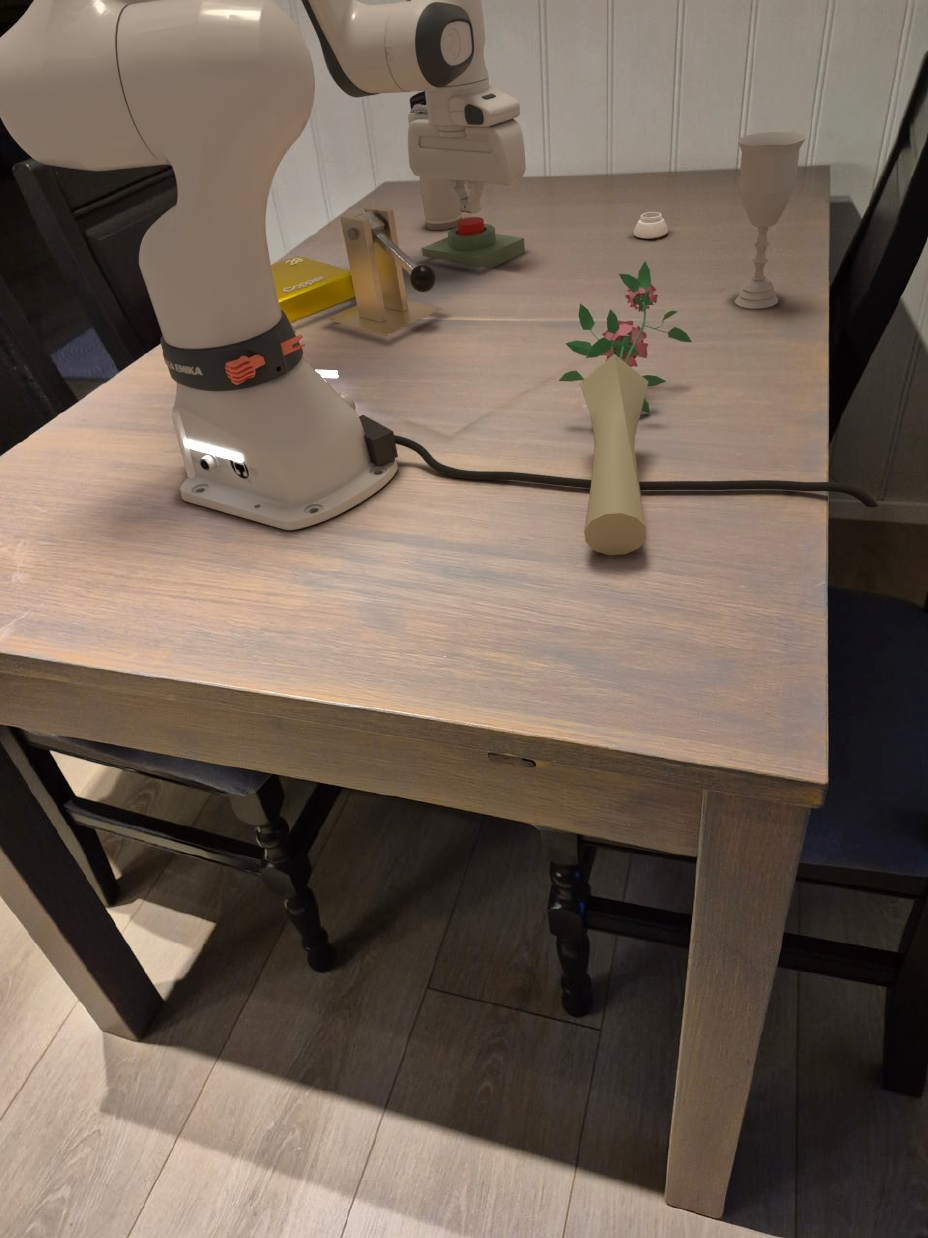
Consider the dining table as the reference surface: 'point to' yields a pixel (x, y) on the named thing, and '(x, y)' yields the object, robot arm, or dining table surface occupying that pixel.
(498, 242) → the button block
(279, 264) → the element tile
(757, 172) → the chalice
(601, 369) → the flower vase
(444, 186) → the travel mug
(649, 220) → the white jar
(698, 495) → the dining table surface
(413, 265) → the lever
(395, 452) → the robot arm
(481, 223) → the button
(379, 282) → the bracket
